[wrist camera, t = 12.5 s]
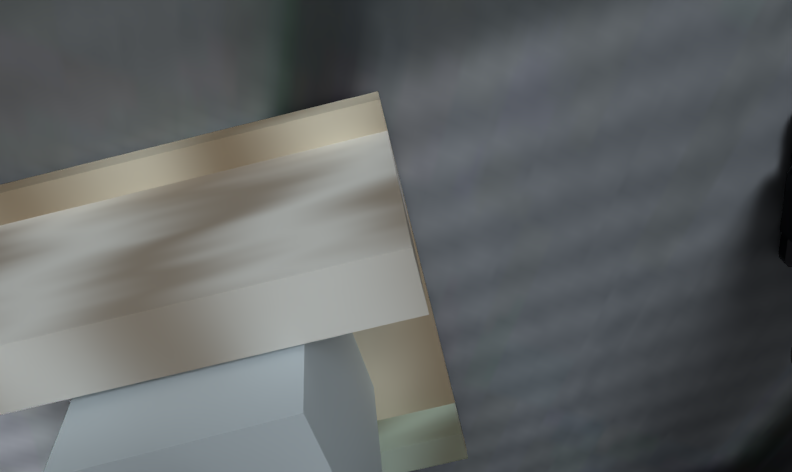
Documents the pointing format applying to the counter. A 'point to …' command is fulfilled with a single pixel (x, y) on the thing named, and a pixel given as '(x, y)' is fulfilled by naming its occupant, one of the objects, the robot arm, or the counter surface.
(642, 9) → the counter surface
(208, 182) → the cleat board
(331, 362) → the cabinet block
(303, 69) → the counter surface
